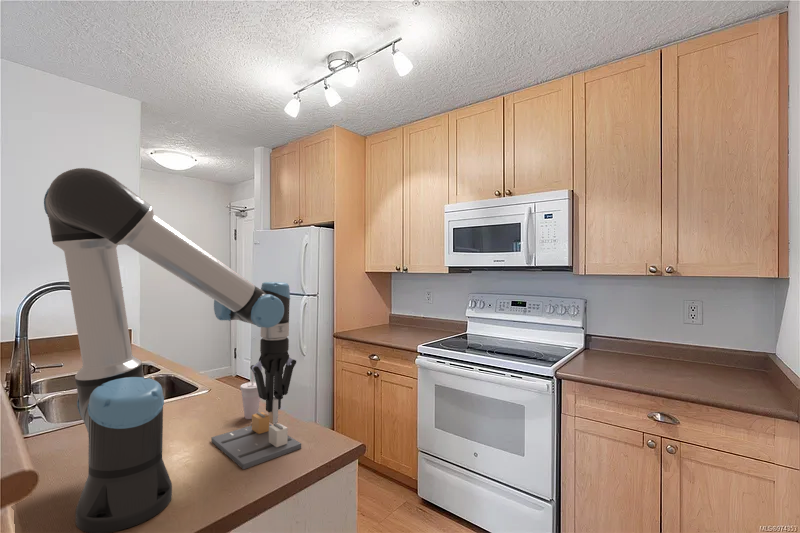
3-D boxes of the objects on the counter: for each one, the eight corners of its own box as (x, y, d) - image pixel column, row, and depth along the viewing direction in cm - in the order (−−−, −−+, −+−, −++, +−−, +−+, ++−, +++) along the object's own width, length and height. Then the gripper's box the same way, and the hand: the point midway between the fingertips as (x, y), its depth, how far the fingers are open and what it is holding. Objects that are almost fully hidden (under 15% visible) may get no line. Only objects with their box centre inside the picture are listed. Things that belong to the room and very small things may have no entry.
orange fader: (258, 434, 106) (258, 417, 106) (251, 429, 108) (252, 413, 108) (269, 430, 108) (269, 414, 108) (262, 426, 111) (262, 410, 110)
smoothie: (247, 422, 116) (248, 375, 116) (235, 417, 120) (236, 371, 120) (266, 416, 121) (267, 370, 121) (254, 411, 125) (255, 366, 125)
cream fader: (276, 447, 98) (276, 429, 98) (268, 441, 101) (268, 424, 101) (287, 443, 101) (287, 426, 101) (279, 438, 103) (279, 421, 103)
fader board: (243, 469, 90) (243, 463, 90) (211, 441, 104) (211, 436, 104) (301, 448, 101) (301, 443, 101) (265, 425, 114) (265, 421, 114)
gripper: (258, 342, 103) (256, 433, 103) (302, 336, 113) (300, 419, 113) (245, 338, 108) (244, 424, 109) (288, 333, 118) (287, 412, 118)
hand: (273, 422), depth 111 cm, fingers closed
